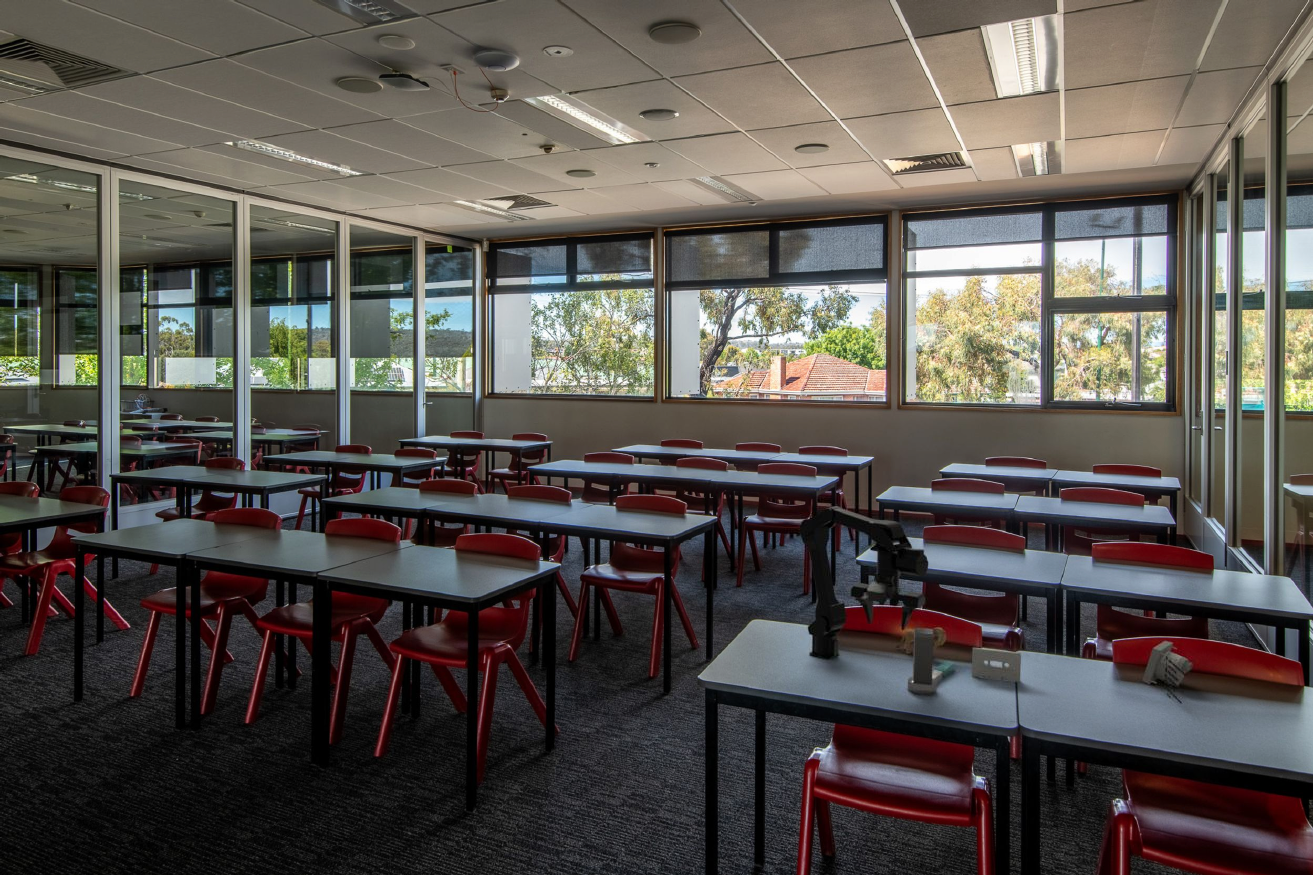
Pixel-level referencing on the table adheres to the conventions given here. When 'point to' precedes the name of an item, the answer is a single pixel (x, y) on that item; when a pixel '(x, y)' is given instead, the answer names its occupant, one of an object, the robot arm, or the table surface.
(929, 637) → the charcoal square pillar
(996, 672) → the cassette
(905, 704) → the table surface
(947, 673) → the ratchet
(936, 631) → the lion figurine
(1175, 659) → the grey pronged block
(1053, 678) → the table surface
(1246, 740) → the table surface
